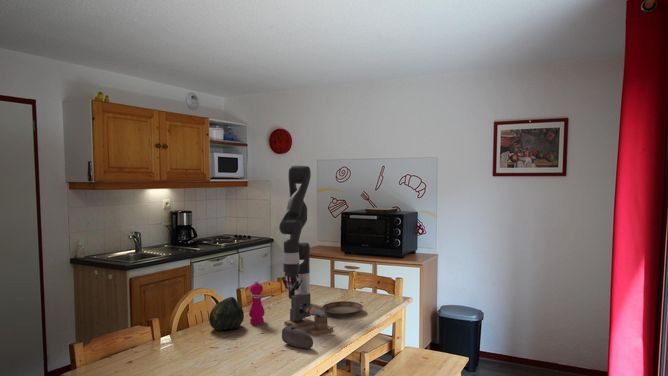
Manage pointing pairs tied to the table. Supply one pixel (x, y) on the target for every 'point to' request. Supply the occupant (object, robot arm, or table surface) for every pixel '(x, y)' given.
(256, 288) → the pepper mill
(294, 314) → the collar
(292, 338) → the perforated stone tool
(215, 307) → the squash
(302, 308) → the pipe
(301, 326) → the pipe stand
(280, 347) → the table surface
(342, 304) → the plant saucer
